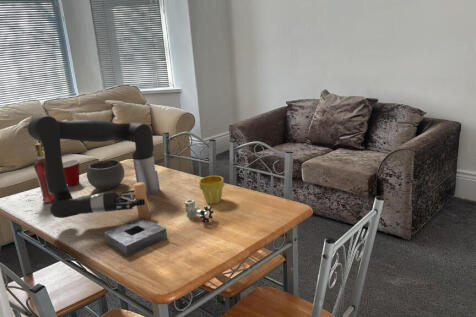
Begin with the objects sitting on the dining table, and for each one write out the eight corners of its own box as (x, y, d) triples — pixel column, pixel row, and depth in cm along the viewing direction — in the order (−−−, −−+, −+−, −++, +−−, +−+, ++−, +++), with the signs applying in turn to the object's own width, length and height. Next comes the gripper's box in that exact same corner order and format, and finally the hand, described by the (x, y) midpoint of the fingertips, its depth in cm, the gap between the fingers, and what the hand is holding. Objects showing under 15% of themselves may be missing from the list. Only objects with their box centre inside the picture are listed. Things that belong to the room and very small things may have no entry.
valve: (182, 218, 167) (201, 225, 159) (179, 203, 165) (200, 209, 157) (194, 212, 171) (214, 219, 163) (192, 197, 169) (212, 203, 161)
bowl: (111, 179, 221) (107, 156, 218) (134, 184, 211) (130, 160, 207) (82, 191, 208) (77, 166, 204) (105, 196, 197) (100, 171, 194)
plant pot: (211, 207, 174) (209, 185, 171) (196, 201, 182) (194, 180, 179) (230, 199, 180) (228, 178, 178) (215, 194, 188) (213, 173, 185)
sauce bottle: (47, 198, 201) (34, 142, 193) (61, 197, 201) (49, 141, 193) (39, 204, 194) (25, 146, 186) (55, 203, 194) (41, 145, 186)
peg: (146, 215, 172) (140, 181, 167) (152, 218, 169) (146, 183, 164) (137, 219, 169) (131, 184, 165) (142, 222, 166) (136, 187, 161)
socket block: (143, 226, 162) (142, 217, 161) (167, 238, 151) (165, 228, 149) (105, 242, 152) (103, 232, 151) (127, 256, 140) (125, 245, 139)
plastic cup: (61, 183, 222) (57, 162, 219) (83, 179, 226) (78, 158, 223) (62, 189, 212) (57, 167, 209) (84, 185, 216) (80, 163, 213)
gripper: (99, 200, 157) (142, 195, 158) (106, 187, 171) (146, 182, 172) (102, 218, 159) (145, 213, 161) (109, 204, 173) (149, 199, 174)
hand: (145, 197), depth 166 cm, fingers open, 8 cm apart
